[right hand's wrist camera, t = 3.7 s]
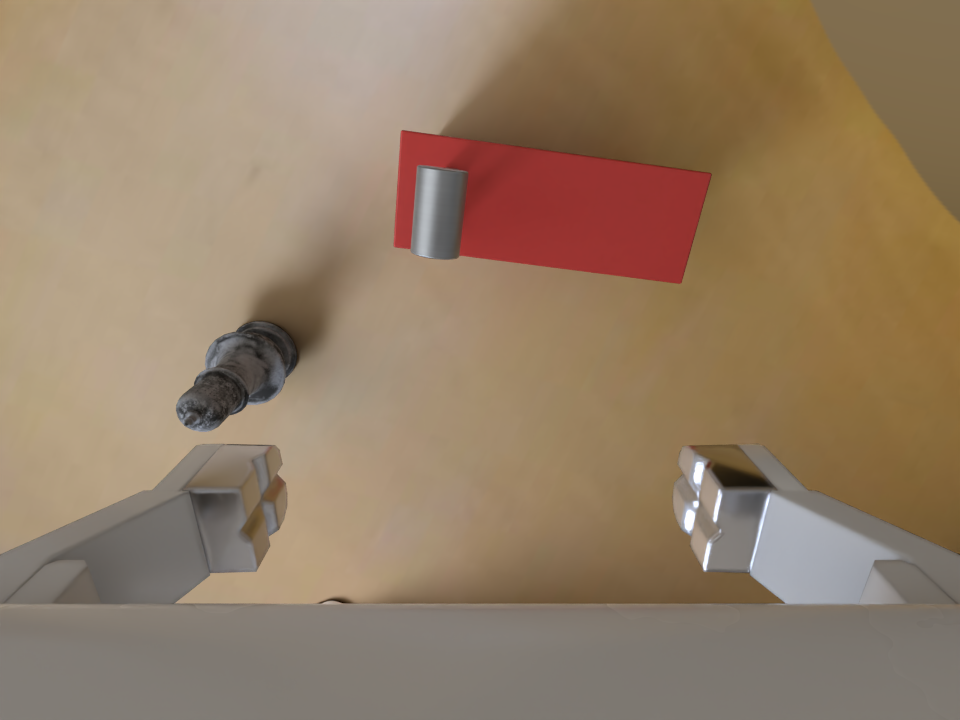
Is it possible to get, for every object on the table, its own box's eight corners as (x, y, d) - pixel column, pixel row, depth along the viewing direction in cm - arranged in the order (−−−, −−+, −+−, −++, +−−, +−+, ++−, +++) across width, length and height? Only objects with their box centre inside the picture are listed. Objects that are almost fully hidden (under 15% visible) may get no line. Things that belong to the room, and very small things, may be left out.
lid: (396, 243, 28) (360, 282, 20) (404, 130, 26) (367, 119, 18) (674, 279, 29) (754, 331, 20) (703, 172, 27) (806, 181, 18)
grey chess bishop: (236, 306, 40) (142, 365, 29) (309, 333, 41) (245, 401, 30) (220, 370, 42) (126, 448, 31) (290, 395, 43) (223, 480, 32)
